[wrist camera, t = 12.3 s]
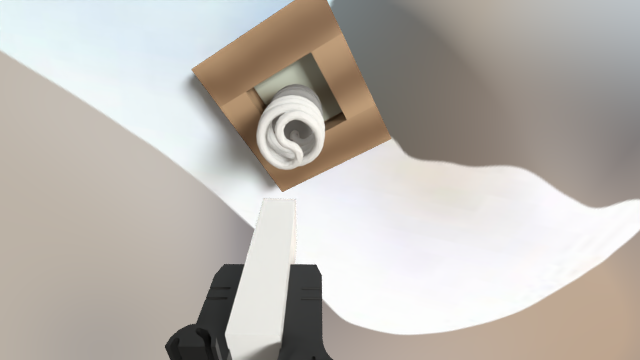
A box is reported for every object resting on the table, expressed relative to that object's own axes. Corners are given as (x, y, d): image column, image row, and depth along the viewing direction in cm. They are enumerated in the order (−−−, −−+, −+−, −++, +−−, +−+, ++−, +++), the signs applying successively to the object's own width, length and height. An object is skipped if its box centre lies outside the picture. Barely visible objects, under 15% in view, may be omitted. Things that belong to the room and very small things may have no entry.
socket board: (204, 62, 32) (191, 69, 28) (319, -14, 28) (319, -17, 25) (285, 175, 39) (282, 192, 35) (384, 125, 35) (391, 138, 32)
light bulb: (268, 77, 31) (243, 113, 21) (321, 72, 31) (322, 107, 21) (277, 127, 34) (258, 181, 24) (325, 124, 34) (328, 176, 24)
